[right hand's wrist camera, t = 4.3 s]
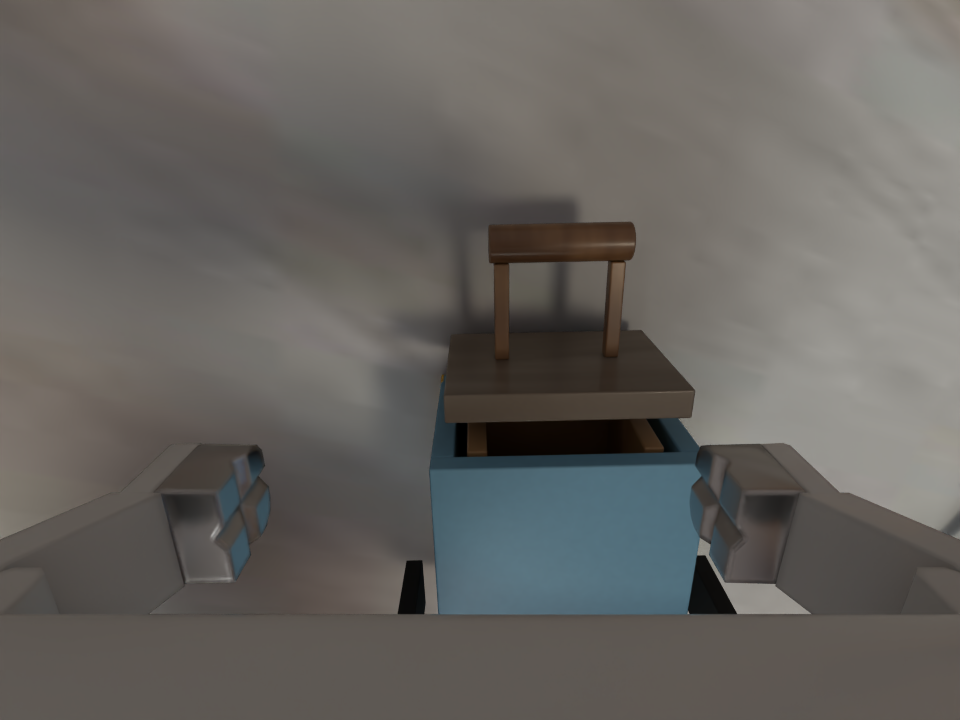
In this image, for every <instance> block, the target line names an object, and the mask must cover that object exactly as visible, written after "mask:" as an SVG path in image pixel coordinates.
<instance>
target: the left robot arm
mask: <svg viewBox="0 0 960 720" xmlns="http://www.w3.org/2000/svg"><path fill="white" fill-rule="evenodd" d="M425 603H426V602H425V589H424V576H423V563H422V560H413V561H407V562H406V568H405V574H404V580H403V586H402V592H401V598H400V603H399V609H398V614H424V612H425ZM688 611H689V614H737V613H736V611H735V609H734V607H733V605H732V604H731V602H730V600H729V598H728V596H727V594H726V593H725V591H724V589H723V587H722V585H721V583H720V582H719V580H718V578H717V576H716V574H715V572H714V571H713V569H712V567H711V565H710V563H709V561H708V560H707V558H706V556H705V555H701V556H697V557H696V564H695V570H694V576H693V582H692V588H691V594H690V600H689V606H688Z"/></svg>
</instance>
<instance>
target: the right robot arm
mask: <svg viewBox="0 0 960 720" xmlns="http://www.w3.org/2000/svg"><path fill="white" fill-rule="evenodd" d="M264 467H265V463H264V458H263V453H262V450H261V449H260V448H259V446H258V445H246V444H201V443H187V444H173V445H170V446H169V447H168V448H167V449H166V450H165V451H164V452H163V453H161V454H160V455H159V456H158V457H157V458H156V459H155V460H154V461H153V462H152V463H151V464H150V465H149V466H148V467H147V468H146V469H145V470H144V471H143V472H141V473H140V474H139V475H138V476H137V477H136V478H135V479H134V480H133V481H132V482H131V483H130V484H129V485H128V486H127V487H126V488H125V489H124V490H122V491H121V492H120V493H109V494H107V495H105V496H102V497H100V498H97V499H95V500H93V501H90V502H88V503H86V504H83V505H81V506H79V507H76V508H74V509H72V510H69V511H67V512H64V513H62V514H60V515H57V516H55V517H53V518H50V519H48V520H46V521H43V522H41V523H38V524H36V525H34V526H31V527H29V528H27V529H24V530H22V531H20V532H17V533H15V534H12V535H10V536H8V537H5V538H3V539H1V540H0V720H960V540H959V539H957V538H954V537H952V536H950V535H947V534H945V533H943V532H940V531H938V530H935V529H933V528H931V527H928V526H926V525H924V524H921V523H919V522H917V521H914V520H912V519H910V518H907V517H905V516H903V515H900V514H898V513H895V512H893V511H891V510H888V509H886V508H884V507H881V506H879V505H877V504H874V503H872V502H870V501H867V500H865V499H862V498H860V497H858V496H855V495H853V494H851V493H840V492H839V491H838V490H837V489H835V488H834V487H833V486H832V485H831V484H830V483H829V482H828V481H827V480H826V479H825V478H824V477H823V476H822V475H821V474H820V473H819V472H818V471H817V470H816V469H814V468H813V467H812V466H811V465H810V464H809V463H808V462H807V461H806V460H805V459H804V458H803V457H802V456H801V455H800V454H799V453H798V452H797V451H796V450H794V449H793V448H792V447H791V446H790V445H787V444H784V443H772V444H732V445H704V446H701V447H700V449H699V451H698V453H697V457H696V462H695V467H696V468H697V470H698V471H699V473H700V474H701V477H700V478H699V479H698V480H697V481H696V482H695V483H694V484H693V485H692V486H691V493H690V501H689V504H690V515H691V519H692V523H693V526H694V528H695V530H696V532H697V534H698V536H699V537H700V538H701V539H703V540H705V541H706V542H708V543H709V544H711V547H710V552H709V555H710V557H711V559H712V561H713V562H714V564H715V566H716V568H717V569H718V571H719V573H720V575H721V576H722V578H723V580H724V582H727V583H763V584H776V587H777V588H779V589H780V590H781V591H783V592H784V593H785V594H786V595H788V596H789V597H790V598H792V599H793V600H794V601H796V602H797V603H798V604H800V605H801V606H802V607H803V608H805V609H806V610H807V611H809V612H810V613H811V614H149V613H150V612H151V611H153V610H154V609H155V608H157V607H158V606H159V605H161V604H162V603H163V602H165V601H166V600H167V599H169V598H170V597H171V596H172V595H174V594H175V593H176V592H178V591H179V590H180V589H182V588H183V587H184V584H196V583H232V582H236V580H237V578H238V576H239V575H240V573H241V571H242V569H243V568H244V566H245V564H246V562H247V561H248V559H249V557H250V555H251V552H250V547H249V544H251V543H252V542H254V541H255V540H257V539H259V538H260V537H261V536H262V534H263V532H264V530H265V528H266V526H267V522H268V518H269V514H270V492H269V486H268V485H267V484H266V483H265V482H264V481H263V480H262V479H261V478H260V477H259V474H260V473H261V471H262V470H263V468H264Z"/></svg>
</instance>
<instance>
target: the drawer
mask: <svg viewBox="0 0 960 720" xmlns="http://www.w3.org/2000/svg"><path fill="white" fill-rule="evenodd" d="M635 246H636V232H635V227H634V224H633V223H632V222H593V223H546V224H499V225H489V227H488V247H489V262H490V263H494V333H488V334H452V335H451V338H450V347H449V355H448V363H447V372H446V380H445V388H444V396H443V397H444V417H445V423H468V429H467V457H488V456H533V455H578V454H623V453H663V452H664V447H663V446H662V444H661V442H660V441H659V439H658V438H657V436H656V434H655V433H654V431H653V429H652V428H651V426H650V425H649V423H648V421H647V420H646V419H659V418H691V416H692V409H693V402H694V395H695V390H694V388H693V387H692V386H691V385H690V384H689V383H688V382H687V381H686V380H685V378H684V377H683V376H682V375H681V374H680V373H679V372H678V371H677V369H676V368H675V367H674V366H673V365H672V364H671V363H670V362H669V360H668V359H667V358H666V357H665V356H664V355H663V354H662V353H661V352H660V350H659V349H658V348H657V347H656V346H655V345H654V344H653V343H652V341H651V340H650V339H649V338H648V337H647V336H646V335H645V334H644V333H643V331H641V330H627V331H620V327H621V315H622V303H623V291H624V278H625V266H626V263H625V261H629V260H631V259H632V257H633V255H634V252H635ZM583 261H608V273H607V287H606V301H605V316H604V330H603V331H581V332H534V333H509V263H536V262H583Z"/></svg>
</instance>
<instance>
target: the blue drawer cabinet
mask: <svg viewBox="0 0 960 720" xmlns="http://www.w3.org/2000/svg"><path fill="white" fill-rule="evenodd" d="M445 380H446V375H442V378H441V388H440V396H439V403H438V410H437V417H436V425H435V432H434V439H433V447H432V454H431V461H430V469H429V475H430V490H431V506H432V522H433V537H434V553H435V568H436V584H437V600H438V614H687V612H688V606H689V600H690V594H691V588H692V582H693V576H694V570H695V564H696V557H697V551H698V545H699V539H700V537H699V536H698V534H697V532H696V530H695V528H694V526H693V523H692V519H691V515H690V504H689V501H690V493H691V486H692V485H693V484H694V483H695V482H696V481H697V480H698V479H699V478H700V477H701V474H700V473H699V471H698V470H697V468H696V467H695V462H696V457H697V453H698V451H699V449H700V447H699V446H698V445H697V443H696V442H695V441H694V439H693V438H692V437H691V435H690V434H689V433H688V431H687V430H686V428H685V427H684V426H683V424H682V423H681V422H680V420H679V419H678V418H659V419H646V420H647V421H648V423H649V425H650V426H651V428H652V429H653V431H654V433H655V434H656V436H657V438H658V439H659V441H660V442H661V444H662V446H663V447H664V452H663V453H623V454H578V455H533V456H488V457H467V429H468V423H445V417H444V397H443V396H444V388H445Z"/></svg>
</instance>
